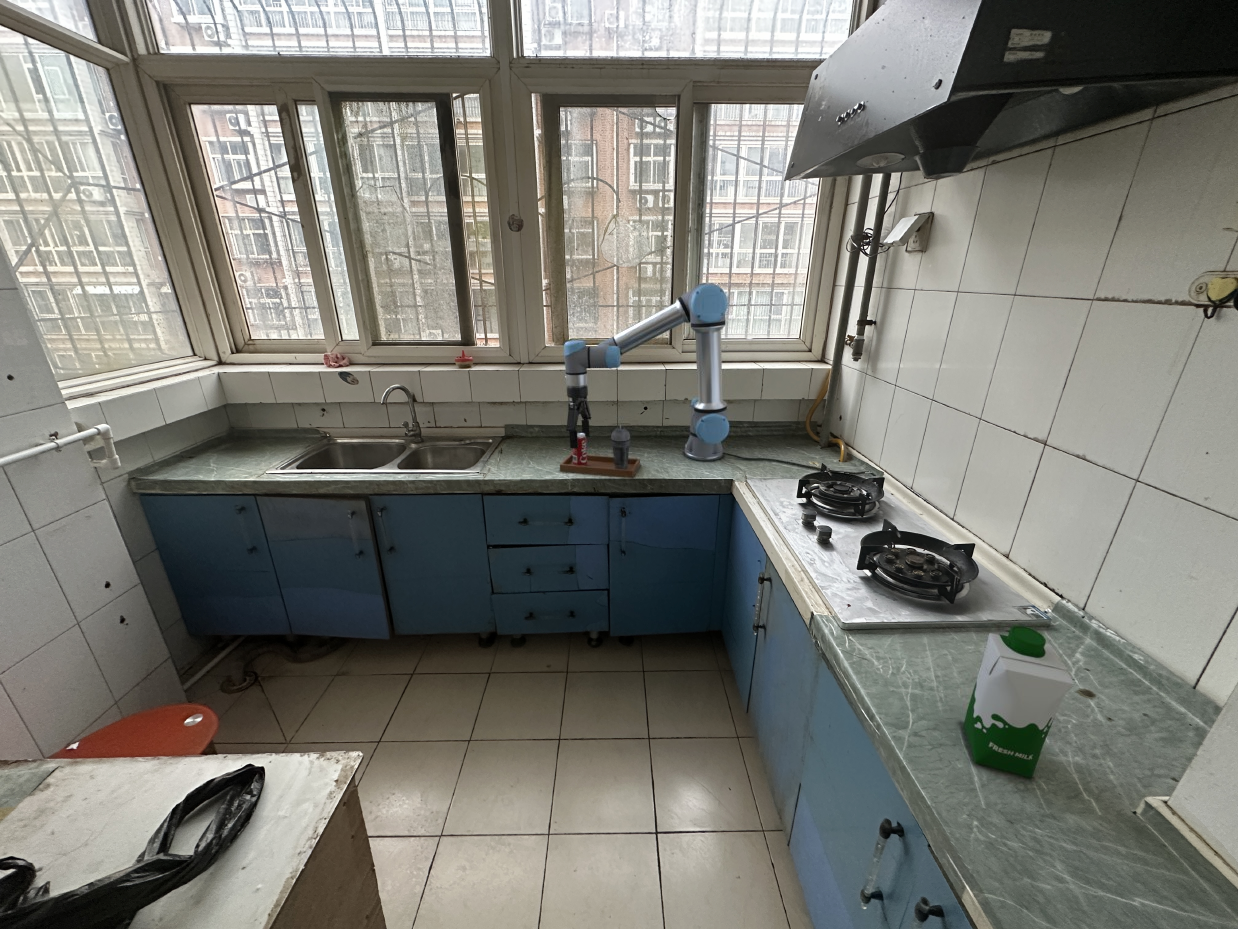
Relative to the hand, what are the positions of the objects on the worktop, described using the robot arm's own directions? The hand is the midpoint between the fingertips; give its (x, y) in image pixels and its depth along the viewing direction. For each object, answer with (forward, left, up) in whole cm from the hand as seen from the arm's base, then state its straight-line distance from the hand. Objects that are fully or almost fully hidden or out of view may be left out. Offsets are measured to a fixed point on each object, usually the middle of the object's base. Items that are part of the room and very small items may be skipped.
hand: (580, 442), depth 185 cm
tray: (-8, 0, -10) cm, 12 cm away
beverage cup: (-16, 0, -9) cm, 18 cm away
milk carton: (-100, +99, -10) cm, 141 cm away
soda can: (0, 0, -9) cm, 9 cm away
